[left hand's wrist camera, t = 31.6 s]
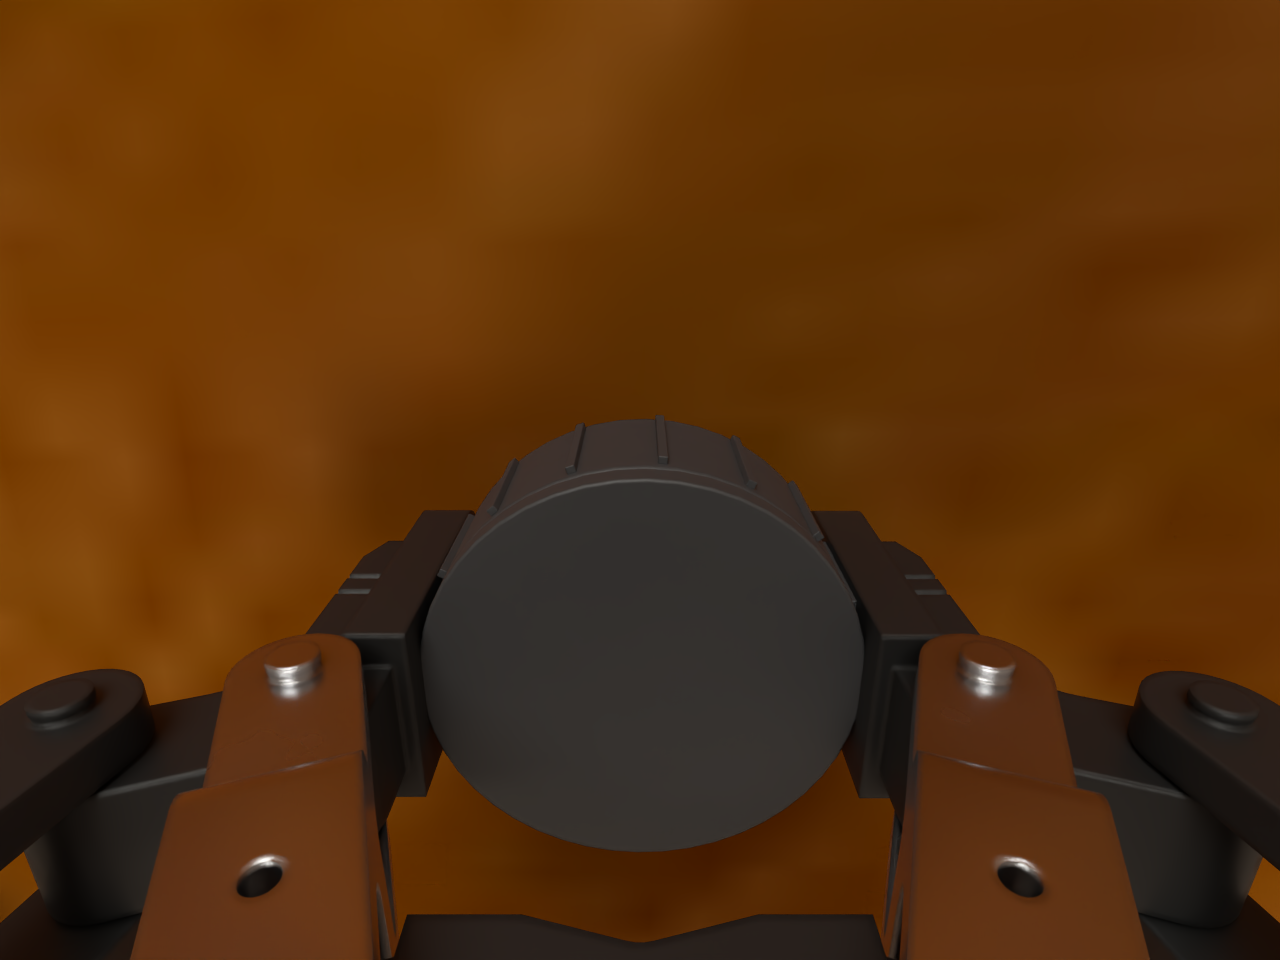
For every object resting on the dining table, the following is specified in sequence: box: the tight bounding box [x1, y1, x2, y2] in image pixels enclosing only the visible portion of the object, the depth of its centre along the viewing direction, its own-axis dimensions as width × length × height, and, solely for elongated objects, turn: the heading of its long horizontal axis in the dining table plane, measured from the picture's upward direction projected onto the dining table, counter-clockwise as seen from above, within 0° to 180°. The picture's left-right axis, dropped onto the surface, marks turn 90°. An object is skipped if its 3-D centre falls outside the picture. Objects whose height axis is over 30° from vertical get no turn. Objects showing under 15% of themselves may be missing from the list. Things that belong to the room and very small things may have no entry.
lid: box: [420, 415, 864, 852], centre depth 10 cm, size 5×5×2 cm
